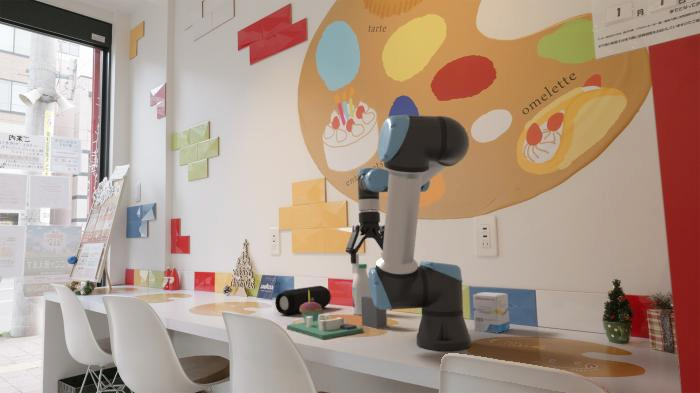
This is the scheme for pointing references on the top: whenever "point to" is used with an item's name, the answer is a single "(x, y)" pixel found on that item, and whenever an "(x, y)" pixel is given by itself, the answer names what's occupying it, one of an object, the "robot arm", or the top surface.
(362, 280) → the milk bottle
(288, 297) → the portable speaker
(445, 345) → the robot arm
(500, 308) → the ink box
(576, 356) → the top surface
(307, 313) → the cupcake
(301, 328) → the board
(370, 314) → the block
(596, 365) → the top surface
